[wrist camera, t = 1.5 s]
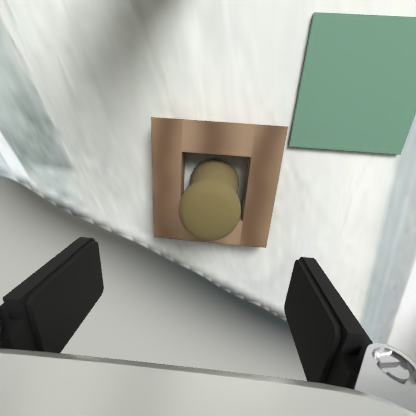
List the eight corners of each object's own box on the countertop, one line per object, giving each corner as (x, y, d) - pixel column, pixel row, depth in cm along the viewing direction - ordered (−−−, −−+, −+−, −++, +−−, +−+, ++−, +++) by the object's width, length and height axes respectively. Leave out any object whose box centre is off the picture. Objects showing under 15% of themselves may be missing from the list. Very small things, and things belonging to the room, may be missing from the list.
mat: (445, 20, 20) (449, 18, 20) (397, 154, 25) (400, 154, 24) (312, 14, 21) (314, 12, 20) (288, 146, 25) (289, 146, 25)
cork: (240, 158, 26) (250, 179, 16) (238, 206, 28) (246, 253, 18) (189, 158, 26) (166, 179, 16) (190, 205, 28) (171, 251, 18)
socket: (282, 126, 24) (287, 126, 22) (263, 239, 29) (265, 247, 27) (157, 117, 25) (151, 117, 23) (158, 229, 30) (154, 237, 28)
